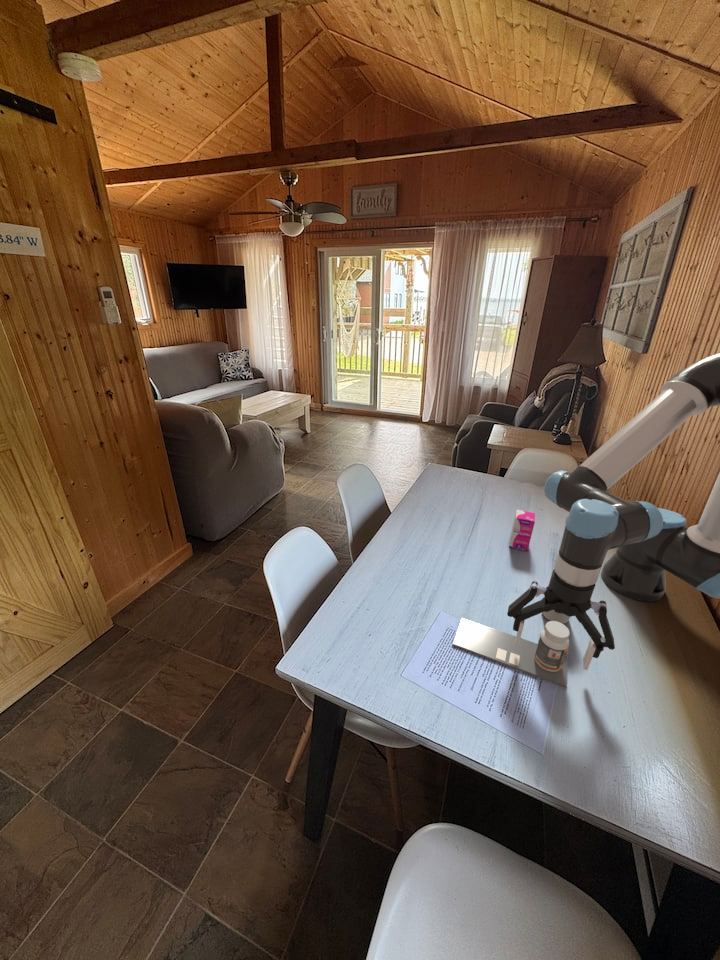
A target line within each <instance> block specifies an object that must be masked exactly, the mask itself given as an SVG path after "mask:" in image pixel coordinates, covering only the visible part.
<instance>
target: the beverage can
mask: <svg viewBox="0 0 720 960" xmlns="http://www.w3.org/2000/svg"><path fill="white" fill-rule="evenodd" d="M549 583H550V581H549V582H548V584H549ZM541 614H542V615H543V616H544V617H545V618H546V620H548V621H557V622H560V623H562V624H564V625H565V624H567V623H568V622H569V620H570V618H571V617H569V616H567V615H565V614H561V613H556V612H555V611H554V610H551V611H548V612H542V613H541Z"/></svg>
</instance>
